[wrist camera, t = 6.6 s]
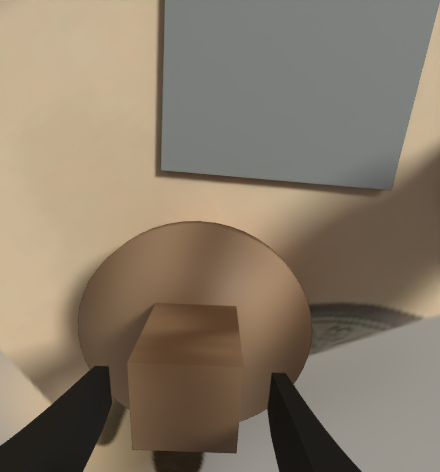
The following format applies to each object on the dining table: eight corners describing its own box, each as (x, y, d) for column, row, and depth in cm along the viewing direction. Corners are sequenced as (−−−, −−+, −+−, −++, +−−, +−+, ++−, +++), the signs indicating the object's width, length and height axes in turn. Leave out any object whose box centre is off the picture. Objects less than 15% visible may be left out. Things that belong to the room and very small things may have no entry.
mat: (457, -100, 12) (469, -113, 12) (385, 189, 16) (391, 190, 16) (171, -132, 12) (168, -148, 12) (163, 170, 16) (160, 170, 15)
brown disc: (320, 226, 13) (383, 263, 8) (292, 415, 16) (323, 525, 11) (77, 215, 12) (-13, 246, 8) (96, 408, 16) (41, 516, 11)
